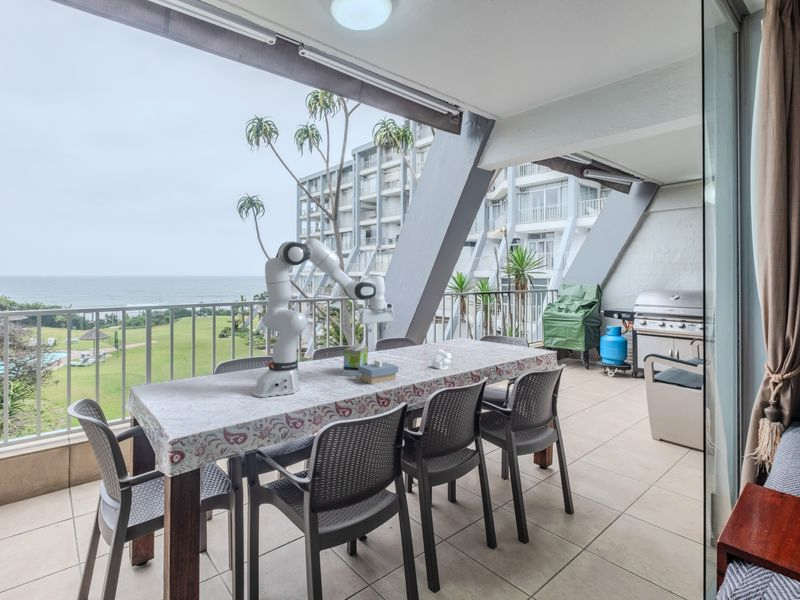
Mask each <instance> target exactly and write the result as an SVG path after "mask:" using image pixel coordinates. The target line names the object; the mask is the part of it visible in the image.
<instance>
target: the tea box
mask: <svg viewBox="0 0 800 600" xmlns="http://www.w3.org/2000/svg"><path fill="white" fill-rule="evenodd" d="M368 348H369V347H368V346H362V345H351V346H349V347H346V348H345V349H343V373H342V374H343V376H347V377H361V373H359V372H358V366H362V365H368V354H369V350H368Z"/></svg>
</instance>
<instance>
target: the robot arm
mask: <svg viewBox="0 0 800 600" xmlns="http://www.w3.org/2000/svg"><path fill="white" fill-rule="evenodd" d="M306 261H308V262H311V263H312V265H314V266H315V267H317V269H319V270H320V271H321V272H323V273H325V274H326V275H328V276H329V277H331V279H333V280H334V281H335V282H336V283H338V285H339V286H340V287H341V288H342V289H343V291H344V292H345V293H344V294H345V295H346V297H348V298H349V299H350V300H360V301H365V300H368V305H363V306H361V307H360V308H359V316H358V323H359V324H360V325H365V328H366V329H367V331H366V332H367V333H372V328H370V325H371V324H379V323H383V326H382V331H385V332H386V331H387V327H388V326H389V322H390V323H391V322H394V320H395V310H394V304H392V303H389V302H387V301H386V298H385V292H386V287H385V286H386V283H385V279H384V277H383V276H382V275H379V274H369V275H368V276H367V277H366V278H364V279H362V280H355V279H353V278H350V276H349V275H348V274H346V273H345V271H343V270H342V269H341V267H340V263H341V262H340V258H339V256H338V255H337V254H336V252H335V251H333V250H332V249H331V248H330V247H329V246H328V245H326V244H325V243H324V242H323V241H321V240H319V239H317V238H315V237H314V238H313V237H311V238H308V239H307V240H306V241H305V242H304V243H300V242H296V241H285V242H284V243H282V244H281V245H280V246H279V248H278V251H277V252H276V256H275V257H272V258H270V259H268V260H267V261H266V262H265V264H264V265H265V266H264V268H265V269H264V274H265V275H264V277H265V284H266V290H267V291H266V292H267V299H268V303H267V309H266V312H265V313H264V314H263V316H262V323H263V325H264V327H265V328H266V329H268V330H270V331H273V332H279V333H278V337H277V340H276V342H274V343H273V345H272V361H271V362H270V361H266V362H265V366H266V367H268V370H266V371H265V373H263V374H262V375H261V376H260V377H258V379H257V381H256V384H255V388H252V389H251V391H250V392H251V395H252V394H253V396H254V395H255V396H254V397H256V396H257V397H256V398H260V397H263V398H270V397H269V396H272V397H277V396H276V395H280V396H285V395H284V394H288V395H293V394H292V393H294V394H295V393H296V392H298V391H300V390H301V387H300V382H299V377H298V370H299V369H298V368H299V362H298V359H297V358H298V357H297V356H298V355H297V352H298V351H297V348H298V341H299V338H300V336H301V334H302V333H303V332H304V331H305V329H306V328H307V325H308V321H307V317H306V315H305V314H304V313H303V312H299V311H297V310H293V309H292V310H290V309H289V302H290V300H291V299H292V298H293V289H292V283H291V282H292V281H291V276H290V269H291V267H292V266H299V265H302V264H303V263H304V262H306Z"/></svg>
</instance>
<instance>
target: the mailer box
mask: <svg viewBox="0 0 800 600" xmlns="http://www.w3.org/2000/svg"><path fill="white" fill-rule="evenodd" d="M396 374H397V373H394V374H388V375H383V376H377V377H369V376H366V375H364V374H361V375H360V381H362V380H363V381H362V382H366V383H367V382H368V383H367V384H369V383H371V384H370V385H376V384H375V383H377V384H381V383H380V382H383V383H386V382H385V381H388V382H391V381H390V380H394V381H396V380H395V379H396Z"/></svg>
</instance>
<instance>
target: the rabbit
mask: <svg viewBox="0 0 800 600" xmlns="http://www.w3.org/2000/svg"><path fill="white" fill-rule="evenodd" d="M438 353H441V354H442V355H444V356H442V355H435V356H434V358H433V359H432V362H431V366H432V367H433V368H435V369H436V368H439V369H438V370H441V369H443V370H448V369H447V368H449V367H448V366H449V364H451V360H452V354H451V353H449V352H447V351H444V350H442V349H439V350H438Z"/></svg>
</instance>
